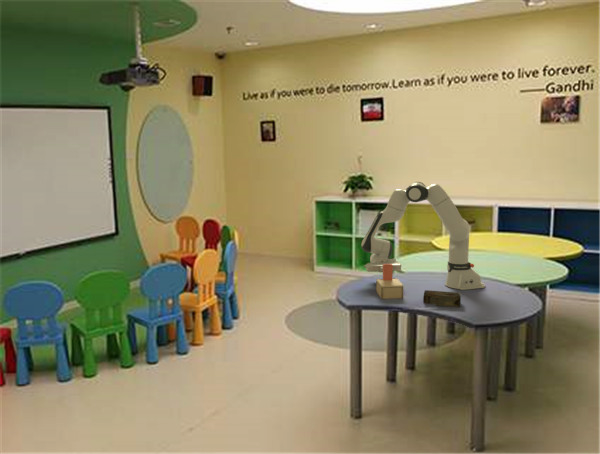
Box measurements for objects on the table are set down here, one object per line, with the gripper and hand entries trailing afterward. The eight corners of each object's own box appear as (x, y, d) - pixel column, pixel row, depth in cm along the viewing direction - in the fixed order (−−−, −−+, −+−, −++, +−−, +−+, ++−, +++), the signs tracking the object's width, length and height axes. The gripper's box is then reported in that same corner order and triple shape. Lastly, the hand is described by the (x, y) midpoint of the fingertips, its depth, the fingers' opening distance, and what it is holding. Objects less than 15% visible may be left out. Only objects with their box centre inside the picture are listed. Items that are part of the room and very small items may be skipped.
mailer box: (376, 292, 318) (376, 280, 316) (397, 292, 318) (397, 280, 317) (381, 300, 304) (381, 288, 303) (403, 299, 305) (403, 287, 303)
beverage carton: (460, 308, 290) (461, 295, 289) (423, 305, 295) (423, 293, 294) (460, 303, 298) (460, 291, 296) (423, 301, 302) (423, 289, 301)
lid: (376, 280, 316) (376, 263, 314) (397, 279, 317) (397, 262, 315) (381, 287, 302) (381, 270, 301) (403, 286, 303) (403, 269, 301)
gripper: (363, 259, 330) (368, 265, 316) (397, 258, 331) (403, 264, 317) (363, 270, 331) (368, 276, 317) (397, 268, 332) (403, 275, 319)
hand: (386, 270), depth 317 cm, fingers closed
